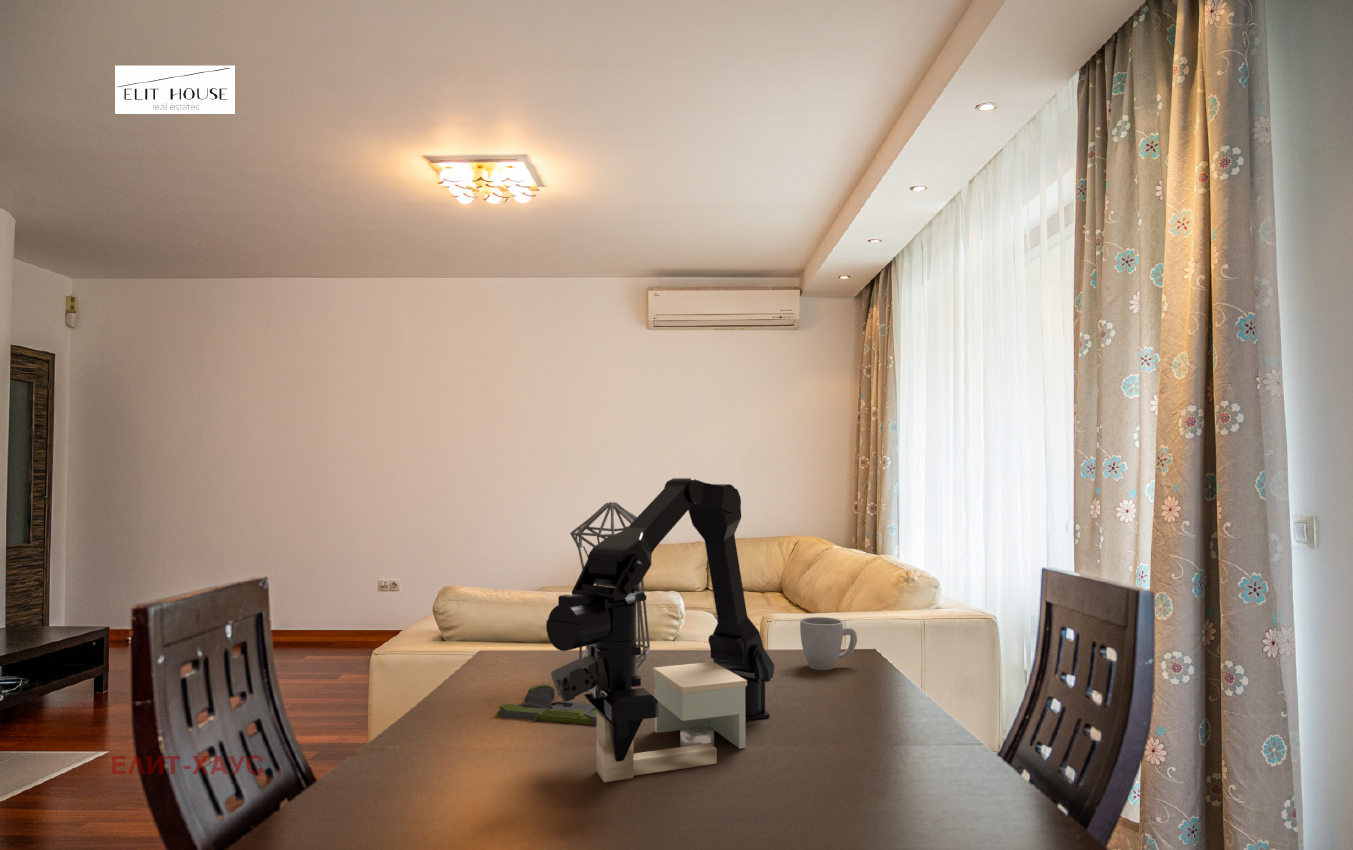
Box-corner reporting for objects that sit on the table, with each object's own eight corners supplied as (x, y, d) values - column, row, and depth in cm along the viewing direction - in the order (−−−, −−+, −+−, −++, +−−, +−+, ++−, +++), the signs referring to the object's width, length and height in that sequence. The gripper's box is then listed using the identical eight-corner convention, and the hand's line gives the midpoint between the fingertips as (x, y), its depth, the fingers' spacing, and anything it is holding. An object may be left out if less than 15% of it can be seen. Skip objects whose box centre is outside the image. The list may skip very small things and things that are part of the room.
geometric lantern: (652, 687, 147) (648, 503, 149) (570, 689, 147) (567, 505, 149) (656, 666, 163) (652, 499, 165) (581, 668, 163) (578, 501, 165)
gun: (627, 704, 139) (602, 733, 124) (528, 696, 143) (492, 723, 128) (628, 689, 139) (603, 717, 124) (528, 682, 143) (493, 707, 128)
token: (706, 740, 118) (705, 723, 118) (719, 751, 114) (719, 734, 114) (675, 744, 116) (675, 727, 117) (687, 755, 112) (687, 738, 112)
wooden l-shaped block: (707, 755, 111) (707, 698, 112) (719, 765, 108) (718, 706, 108) (596, 771, 105) (596, 711, 106) (604, 782, 102) (604, 720, 102)
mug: (806, 672, 158) (806, 624, 159) (796, 662, 167) (795, 617, 168) (863, 671, 159) (863, 624, 160) (850, 661, 168) (849, 616, 169)
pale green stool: (713, 723, 126) (713, 661, 127) (747, 748, 114) (747, 680, 115) (653, 730, 122) (653, 667, 123) (681, 757, 111) (681, 687, 111)
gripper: (542, 629, 111) (541, 740, 110) (573, 657, 94) (572, 790, 93) (617, 624, 115) (616, 731, 114) (660, 650, 98) (659, 777, 97)
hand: (614, 755), depth 104 cm, fingers closed on wooden l-shaped block, 4 cm apart
